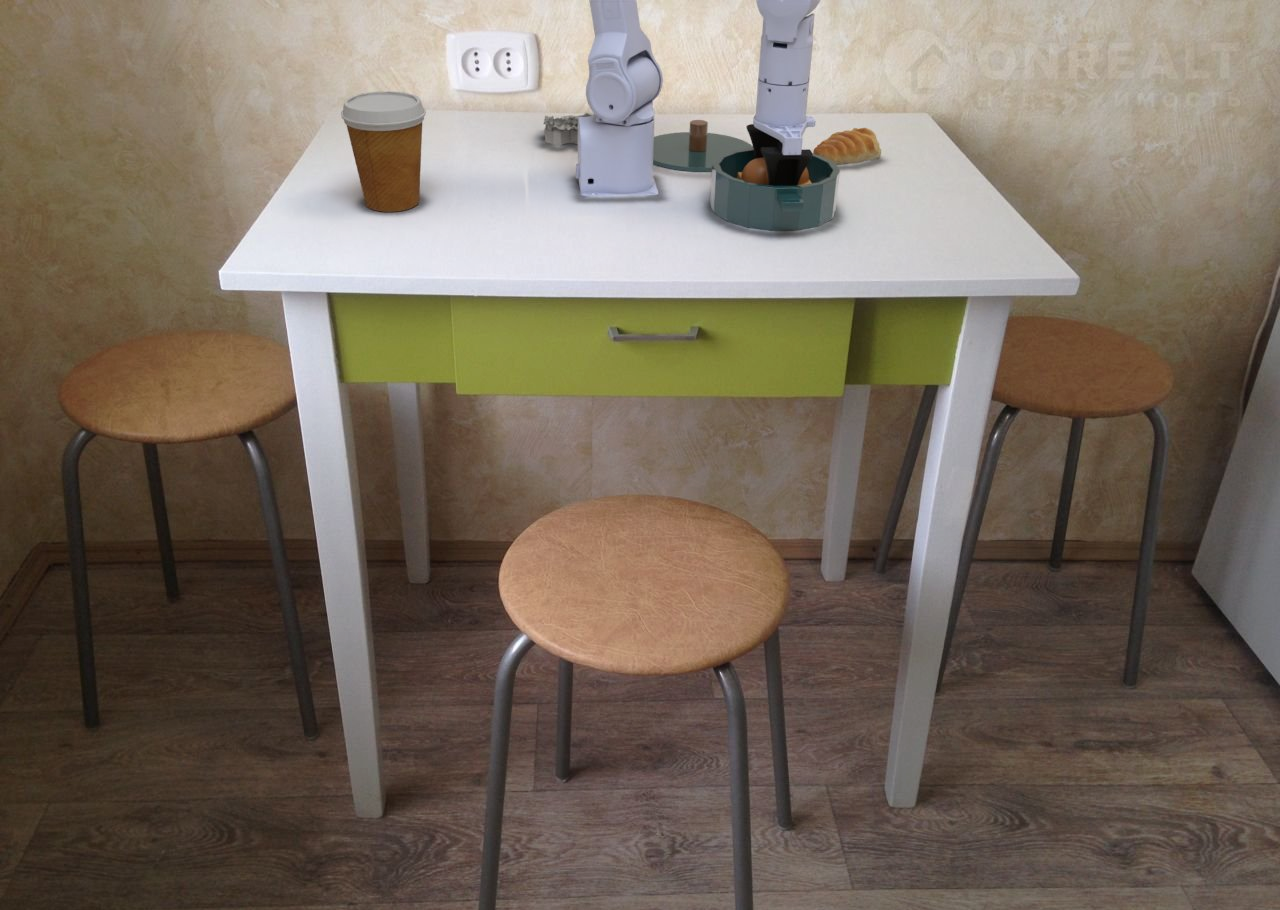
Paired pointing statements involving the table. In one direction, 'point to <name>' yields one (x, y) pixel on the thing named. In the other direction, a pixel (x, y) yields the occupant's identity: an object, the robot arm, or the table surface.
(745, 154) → the pot
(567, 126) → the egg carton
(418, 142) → the disposable coffee cup
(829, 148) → the pastry
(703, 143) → the lid
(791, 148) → the robot arm
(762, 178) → the bread
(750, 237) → the table surface
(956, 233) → the table surface
